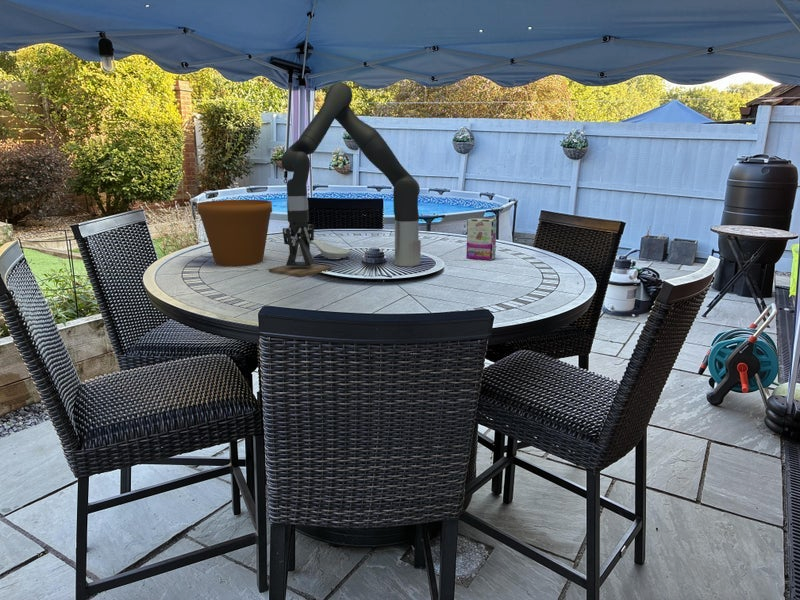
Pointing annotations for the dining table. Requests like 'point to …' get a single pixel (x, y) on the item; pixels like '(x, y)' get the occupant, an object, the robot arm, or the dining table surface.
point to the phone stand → (305, 252)
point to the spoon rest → (328, 250)
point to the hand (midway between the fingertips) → (299, 254)
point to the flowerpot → (236, 230)
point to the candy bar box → (481, 239)
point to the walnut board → (299, 270)
